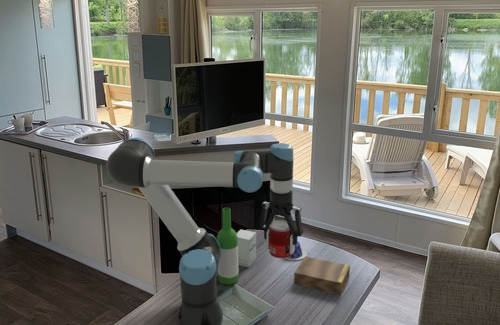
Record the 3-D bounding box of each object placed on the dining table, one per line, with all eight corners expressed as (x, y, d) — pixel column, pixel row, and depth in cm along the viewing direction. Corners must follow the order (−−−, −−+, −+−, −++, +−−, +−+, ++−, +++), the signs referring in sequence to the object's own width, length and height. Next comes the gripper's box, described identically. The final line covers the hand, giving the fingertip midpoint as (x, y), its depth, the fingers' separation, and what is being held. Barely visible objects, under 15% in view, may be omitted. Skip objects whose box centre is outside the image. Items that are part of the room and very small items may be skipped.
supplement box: (249, 268, 189) (248, 240, 185) (232, 264, 192) (232, 236, 188) (256, 259, 195) (256, 232, 191) (240, 255, 199) (240, 228, 194)
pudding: (304, 263, 193) (304, 251, 191) (275, 259, 196) (275, 248, 194) (309, 249, 204) (309, 238, 202) (282, 245, 207) (282, 235, 205)
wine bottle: (222, 273, 185) (219, 203, 176) (241, 276, 184) (239, 205, 174) (215, 284, 178) (212, 212, 169) (235, 287, 176) (233, 214, 167)
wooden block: (294, 284, 178) (294, 271, 176) (304, 267, 189) (305, 255, 187) (341, 295, 171) (341, 282, 169) (349, 277, 182) (350, 265, 180)
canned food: (290, 259, 161) (291, 230, 157) (267, 257, 162) (267, 228, 159) (293, 248, 168) (293, 220, 164) (270, 246, 169) (271, 219, 166)
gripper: (314, 190, 156) (312, 250, 164) (257, 181, 165) (257, 239, 172) (307, 198, 150) (305, 261, 157) (248, 188, 158) (248, 248, 165)
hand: (280, 249), depth 164 cm, fingers closed on canned food, 8 cm apart
